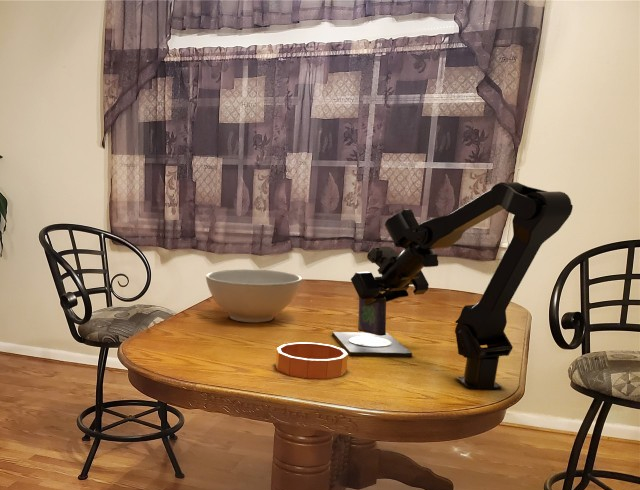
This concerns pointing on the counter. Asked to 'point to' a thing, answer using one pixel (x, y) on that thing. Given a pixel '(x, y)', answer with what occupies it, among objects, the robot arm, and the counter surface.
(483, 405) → the counter surface
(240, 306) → the decorative bowl
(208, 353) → the counter surface
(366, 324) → the flask
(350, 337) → the hob plate
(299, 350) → the orange round tray
